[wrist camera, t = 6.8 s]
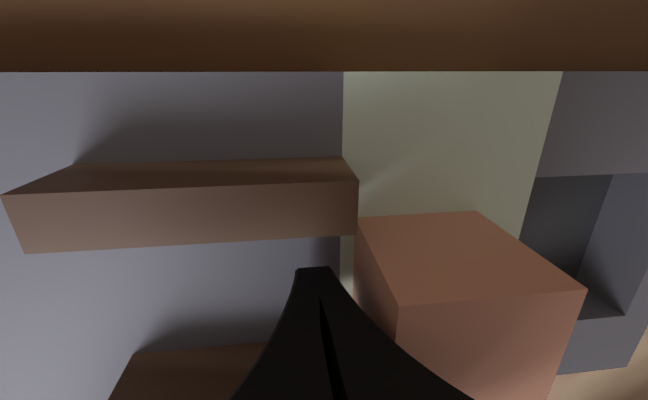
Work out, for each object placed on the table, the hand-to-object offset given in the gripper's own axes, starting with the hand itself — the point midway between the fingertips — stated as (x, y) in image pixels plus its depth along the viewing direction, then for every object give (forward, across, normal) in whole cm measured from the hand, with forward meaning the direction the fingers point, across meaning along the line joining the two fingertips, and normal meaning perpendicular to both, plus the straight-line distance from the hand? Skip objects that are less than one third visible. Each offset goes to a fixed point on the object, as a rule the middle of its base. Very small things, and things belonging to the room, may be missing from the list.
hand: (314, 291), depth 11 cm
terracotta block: (+1, -4, 0) cm, 4 cm away
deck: (+4, -1, 0) cm, 4 cm away
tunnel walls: (+1, +3, 0) cm, 3 cm away
